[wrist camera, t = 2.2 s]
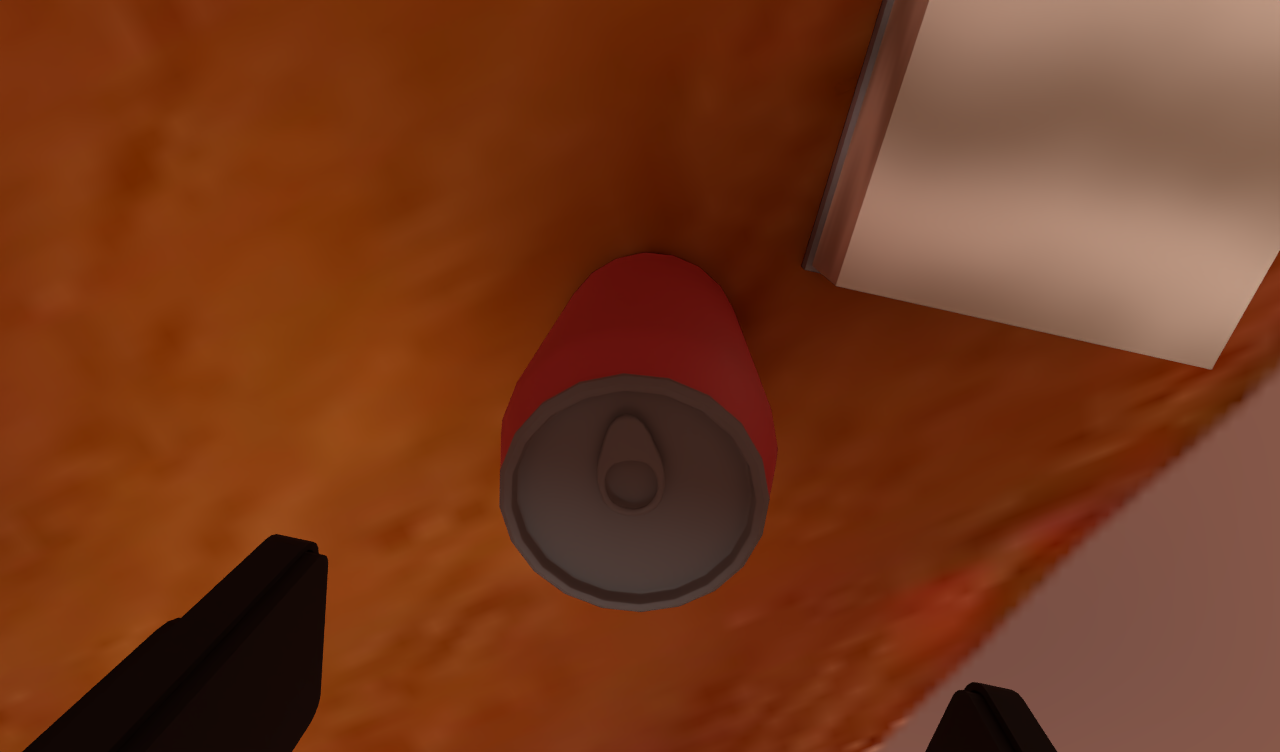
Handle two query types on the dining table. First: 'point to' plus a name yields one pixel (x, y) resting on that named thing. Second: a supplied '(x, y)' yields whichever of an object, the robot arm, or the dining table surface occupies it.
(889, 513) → the dining table surface
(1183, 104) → the stand
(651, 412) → the beer can
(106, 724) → the robot arm
